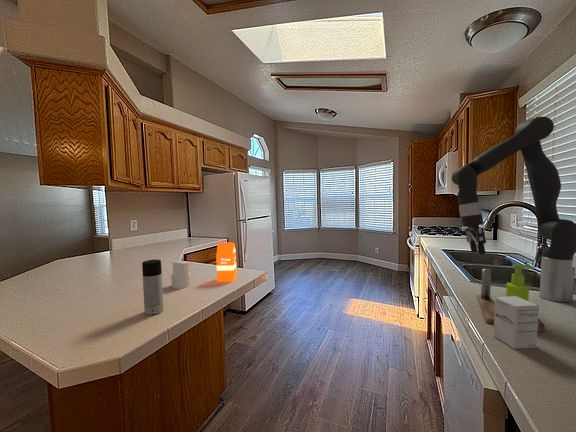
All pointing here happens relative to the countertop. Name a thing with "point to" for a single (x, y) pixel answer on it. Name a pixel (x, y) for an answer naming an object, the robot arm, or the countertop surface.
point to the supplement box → (516, 322)
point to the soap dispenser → (518, 283)
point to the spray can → (152, 286)
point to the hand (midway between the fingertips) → (478, 253)
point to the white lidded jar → (181, 275)
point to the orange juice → (226, 262)
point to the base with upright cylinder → (488, 303)
